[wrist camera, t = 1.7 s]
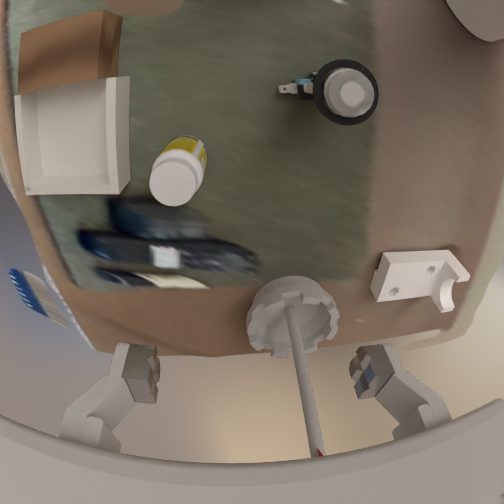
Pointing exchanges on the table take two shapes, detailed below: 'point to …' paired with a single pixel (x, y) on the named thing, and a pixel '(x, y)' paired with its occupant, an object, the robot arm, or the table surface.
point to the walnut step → (69, 51)
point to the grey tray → (75, 137)
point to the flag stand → (294, 334)
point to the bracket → (418, 276)
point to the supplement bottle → (178, 171)
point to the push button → (339, 91)
